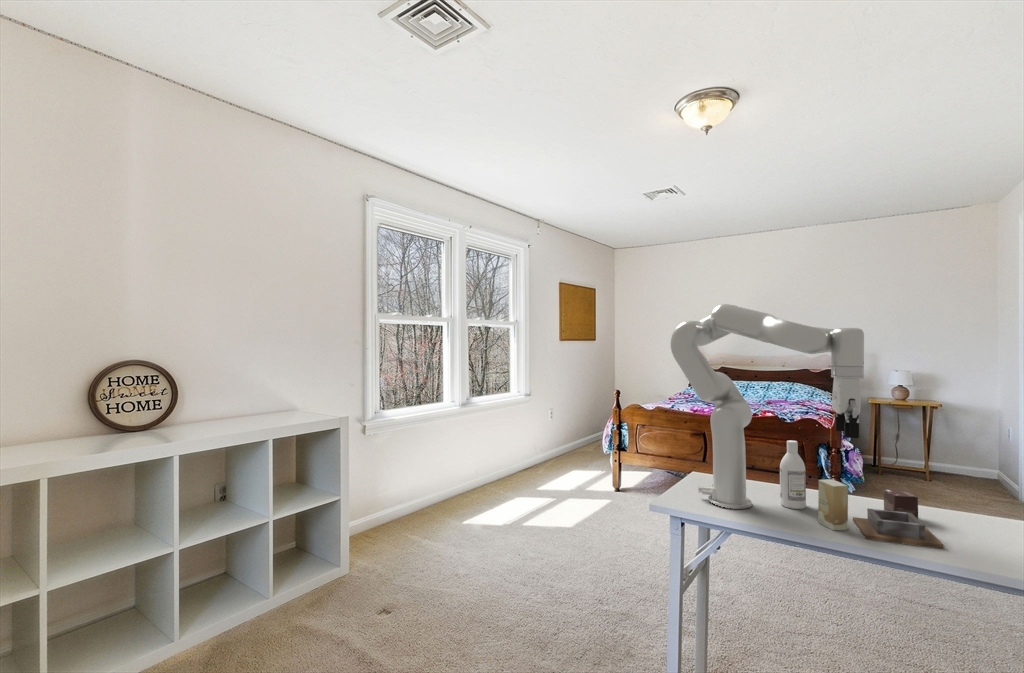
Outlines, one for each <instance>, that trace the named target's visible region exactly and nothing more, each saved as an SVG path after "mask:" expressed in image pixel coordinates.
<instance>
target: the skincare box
mask: <svg viewBox="0 0 1024 673" xmlns="http://www.w3.org/2000/svg"><path fill="white" fill-rule="evenodd" d="M817 504H818V505H817V506H818V509H817V514H818V516H817V517H818V518H817V519H818V520H817V522H818V523H819V524H821V525H822V526H825V527H827V528H828V529H830V530H831V531H848V529H849V528H848V524H849V523H848V522H849V521H848V520H849V519H848V518H849V517H848V516H849V511H848V510H849V485H846V484H844V483H843V482H840V481H837V480H834V479H832V478H829V479H826V478H825V479H818V502H817Z"/></svg>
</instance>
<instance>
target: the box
mask: <svg viewBox="0 0 1024 673" xmlns="http://www.w3.org/2000/svg"><path fill="white" fill-rule="evenodd" d="M883 510H888V511H898V512H908V513H912V514H913V515H914V516H915V517H916V518H917V519H918V520H919V496H917V495H915V494H913V493H912V492H909V491H908V490H905V489H904V490H902V489H899V490H898V489H897V490H896V489H883Z"/></svg>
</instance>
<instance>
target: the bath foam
mask: <svg viewBox="0 0 1024 673" xmlns="http://www.w3.org/2000/svg"><path fill="white" fill-rule="evenodd" d="M798 446H799V444H798V441H797V440H791V439H790V440H786V453H785V455H784V456H783V457H782V459H781V461H780V464H779V495H780V496H779V500H780V501H779V503H780V505H781V506H783V507H785V508H788V509H792V510H803V509H805V508H806V507H807V492H806V491H807V489H806V488H807V487H806V485H807V484H806V483H807V482H806V480H807V479H806V475H807V474H806V473H807V472H806V470H807V469H806V465H805V462H804V460H803V458H801V456H800V454H799V453H798V452H799V451H798V448H799V447H798Z"/></svg>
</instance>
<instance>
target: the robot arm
mask: <svg viewBox="0 0 1024 673" xmlns="http://www.w3.org/2000/svg"><path fill="white" fill-rule="evenodd" d="M730 334H734V335H738V336H742V337H745V338H749V339H751V340H755V341H760V342H762V343H767V344H771V345H774V346H779V347H781V348H785V349H789V350H793V351H797V352H800V353H802V354H808V355H817V354H824V353H831V355H830V356H831V357H830V358H831V359H830V360H831V361H830V362H831V363H830V365H831V366H830V367H831V368H830V369H831V370H830V374H831V375H830V377H831V378H833V382H832V396H831V397H832V398H831V399H832V400H831V409H832V411H834V412H835V431H836V432H844V434H843V436H844V437H845V438H846V439H847V438H848V439H859V438H860V419H859V418H860V417H859V415H860V413H861V405H862V404H861V400H862V399H861V396H862V395H861V381H860V380H862V379H864V377H865V376H864V374H865V333H864V330H863V329H861V328H859V327H837V328H824V327H819V326H810V325H806V324H802V323H797V322H793V321H789V320H785V319H781V318H779V317H777V316H775V315H773V314H771V313H767V312H763V311H758V310H754V309H750V308H745V307H741V306H738V305H735V304H729V303H722V304H719V305H717V306H715V307H714V308H713V310H712V311H711V314H710V315H709V316H707V317H705V318H703V319H701V320H687V321H683V322H681V323H679V324H678V326H676V327H675V329H674V330H673V332H672V334H671V337H670V350H671V354H672V356H673V358H674V360H675V362H676V363H677V364H678V366H679V368H680V369H681V371H682V373H683V374H684V376H685V378H686V379H687V381H688V382H689V384H690V386H691V387H692V389H693V390H694V392H695V393H696V395H697V396H698V398H699V399H700V400H701V401H703V402H705V403H713V405H714V406H715V408H713V410H712V412H711V415H710V418H709V419H710V422H709V423H710V429H711V437H712V440H711V441H712V482H713V483H712V484H711V485H712V486H708V487H705V486H701V485H700V486H698V493H701V495H707V496H708V497H707V499H708V500H709V501H710V502H711V504H712V503H713V504H715V505H714V506H716V505H718V506H717V507H719V506H721V507H720V508H723V507H725V508H724V509H730V508H731V509H730V510H732V509H733V510H743V509H749V508H750V507H752V506H753V505H752V504H753V502H752V500H751V499H750V498H748V497H747V461H746V460H747V459H746V458H747V457H746V456H747V454H746V439H745V431H744V430H745V429H744V428H746V427H747V426H748V425H750V423H751V421H752V419H753V418H752V417H753V412H752V409H751V406H750V405H749V404H748V402H747V400H746V399H745V398H744V396H743V395H742V393H741V391H740V390H739V389H738V387H737V386H736V384H735V383H734V381H733V380H732V379H731V377H729V376H728V374H726V373H724V372H721V371H715V370H714V369H713V367H712V365H711V364H710V362H709V361H708V359H707V357H705V355H704V354H703V353H702V351H700V348H699V347H703V346H707V345H709V344H711V343H713V342H715V341H717V340H720V339H722V338H724V337H726V336H728V335H730ZM709 501H708V502H709ZM710 502H709V503H710ZM713 504H712V505H713Z"/></svg>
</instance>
